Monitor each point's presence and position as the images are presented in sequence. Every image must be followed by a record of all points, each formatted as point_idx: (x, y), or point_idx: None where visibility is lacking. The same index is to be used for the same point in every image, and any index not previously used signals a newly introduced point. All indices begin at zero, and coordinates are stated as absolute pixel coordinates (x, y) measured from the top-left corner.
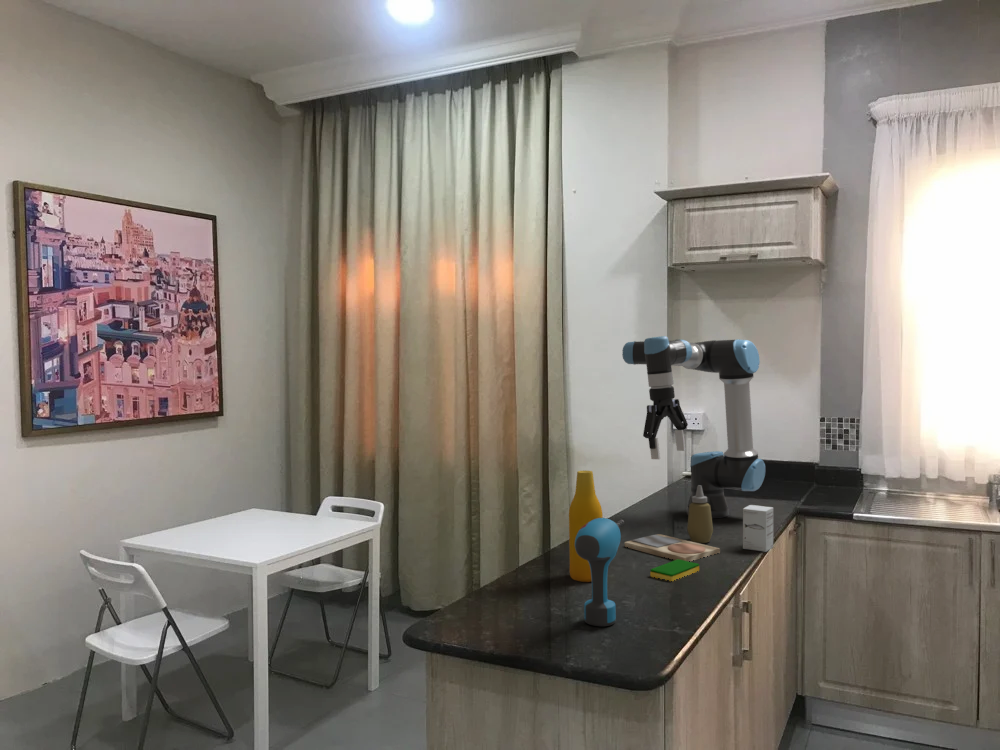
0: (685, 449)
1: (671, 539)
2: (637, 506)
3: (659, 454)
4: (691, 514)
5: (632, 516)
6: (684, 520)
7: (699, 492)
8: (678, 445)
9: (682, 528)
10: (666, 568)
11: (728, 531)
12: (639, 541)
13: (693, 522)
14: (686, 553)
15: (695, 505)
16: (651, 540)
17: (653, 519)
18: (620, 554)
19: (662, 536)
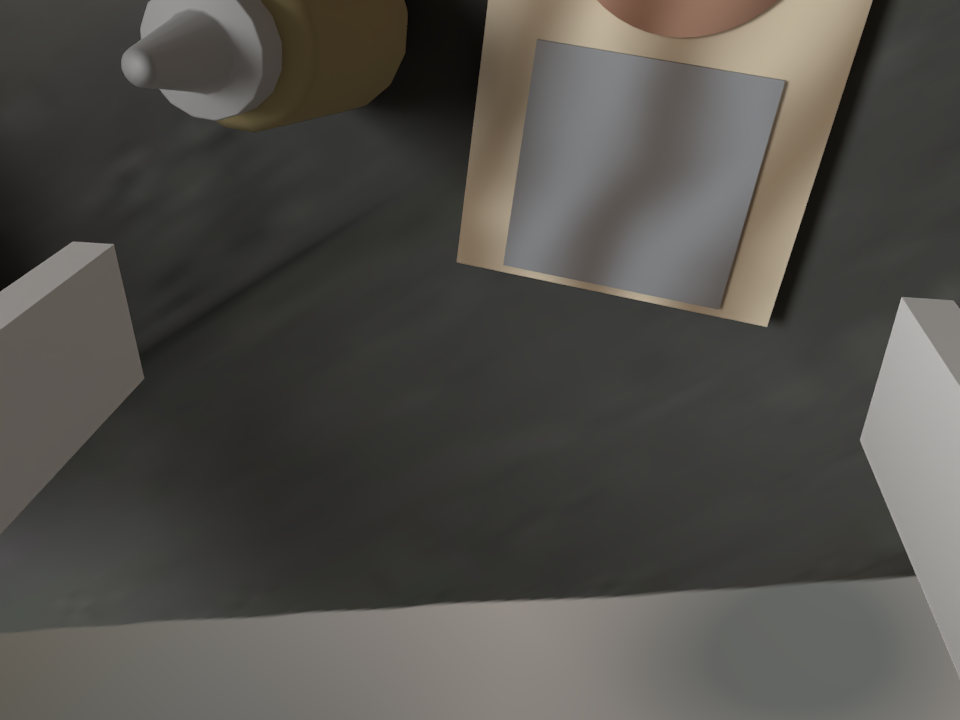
0: (65, 247)
1: (546, 116)
2: (28, 628)
3: (936, 342)
4: (350, 64)
5: (185, 570)
6: None
7: (197, 43)
8: (87, 390)
9: (184, 265)
10: None
11: (34, 11)
12: (720, 252)
13: (376, 33)
14: None
15: (304, 41)
16: (650, 206)
17: (153, 470)
18: (956, 243)
19: (515, 204)
